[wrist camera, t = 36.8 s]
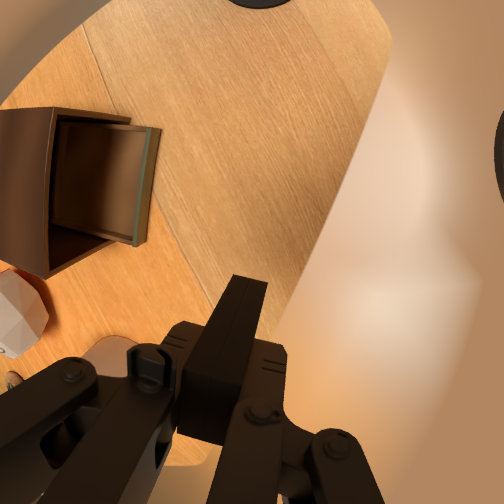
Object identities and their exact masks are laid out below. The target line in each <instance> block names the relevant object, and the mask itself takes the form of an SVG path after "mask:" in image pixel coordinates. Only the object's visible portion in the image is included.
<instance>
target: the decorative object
mask: <svg viewBox="0 0 504 504" xmlns="http://www.w3.org/2000/svg"><path fill="white" fill-rule="evenodd" d="M48 319H49V315H48V313H47V311H46V308H45V306H44V304H43V302H42V300H41V297H40V295H39V293H38V292H37V291H36V290H35V288H34V287H33V286H32V285H30V284H29V283H28V282H27V281H25V280H24V279H23V278H21V277H20V276H19V275H18V274H16V273H15V272H13V271H12V270H11V269H7V270H5V271H3V272H1V273H0V353H1V354H3V355H5V356H7V357H8V358H10V359H13V358H16V357H20V356H21V355H22V354H23V353H25V352H26V351H27V350H28V349H30V348H31V347H32V346H33V345H35V344H36V343H37V342H38V341H40V338H41V336H42V333H43V331H44V329H45V326H46V324H47V321H48Z"/></svg>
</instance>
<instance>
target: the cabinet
mask: <svg viewBox="0 0 504 504" xmlns="http://www.w3.org/2000/svg"><path fill="white" fill-rule="evenodd" d="M57 119H63V120H94V121H111V122H125V123H130V121H131V118H130V117H124V116H118V115H112V114H106V113H99V112H92V111H85V110H77V109H69V108H61V107H35V108H19V109H7V110H0V260H2V261H4V262H6V263H8V264H10V265H13V266H15V267H17V268H19V269H21V270H24V271H26V272H28V273H31V274H33V275H35V276H38V277H40V278H42V279H45V280H47V279H48V278H50V277H52V276H53V275H55V274H57V273H59V272H60V271H62V270H64V269H66V268H67V267H69V266H71V265H73V264H75V263H76V262H78V261H80V260H82V259H84V258H85V257H87V256H89V255H91V254H93V253H95V252H97V251H98V250H100V249H102V248H104V247H106V246H108V245H110V244H112V243H114V242H116V241H113V240H110V239H106V238H102V237H99V236H95V235H91V234H88V233H84V232H80V231H77V230H73V229H69V228H66V227H62V226H59V225H55V224H52V220H51V219H48V201H49V182H50V169H51V158H52V149H53V141H54V133H55V126H56V120H57Z"/></svg>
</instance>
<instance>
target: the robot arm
mask: <svg viewBox="0 0 504 504" xmlns="http://www.w3.org/2000/svg"><path fill="white" fill-rule="evenodd" d="M267 284H268V283H267V282H263V281H259V280H255V279H251V278H247V277H242V276H238V275H234V274H233V276H232V278H231V280H230V282H229V283H228V285H227V287H226V289H225V291H224V293H223V294H222V296H221V298H220V300H219V302H218V304H217V305H216V307H215V309H214V311H213V313H212V315H211V316H210V318H209V320H208V322H207V324H206V326H201V325H198V324H194V323H190V322H187V321H182V322H180V323H178V324H176V325H174V326H173V327H172V328H171V330H170V331H169V333H168V334H167V336H166V337H165V338H164V340H163V341H162V343H161V344H160V345H157V344H152V343H144V344H138V345H135V346H132V347H131V348H130V349H128V350H127V376H126V377H111V376H105V375H98V374H97V372H96V369H95V367H94V365H93V364H92V363H91V362H89V361H87V360H85V359H83V358H79V357H66V358H63V359H61V360H58V361H57V362H55V363H53V364H52V365H50V366H48V367H47V368H45V369H43V370H42V371H40V372H38V373H37V374H35V375H33V376H31V377H30V378H28V379H26V380H25V381H23V382H21V383H20V384H18V385H16V386H15V387H13V388H11V389H10V390H8V391H6V392H5V393H3V394H1V395H0V504H30V503H32V502H33V501H34V500H36V499H37V498H38V497H39V496H41V495H42V494H43V495H42V496H41V498H40V499H39V501H38V502H37V504H146V503H147V501H148V499H149V496H150V494H151V492H152V490H153V487H154V485H155V483H156V481H157V478H158V476H159V474H160V471H161V469H162V467H163V465H164V462H165V460H166V458H167V456H168V453H169V451H170V449H171V446H172V436H173V434H174V431H175V429H176V427H177V433H178V434H182V435H185V436H188V437H191V438H195V439H198V440H201V441H205V442H209V443H212V444H216V445H220V446H223V447H222V451H221V455H220V458H219V461H218V465H217V468H216V471H215V475H214V478H213V481H212V485H211V488H210V492H209V495H208V498H207V502H206V504H277V497H278V493H279V494H281V495H282V501H283V504H385V502H384V500H383V498H382V495H381V493H380V490H379V488H378V486H377V483H376V481H375V478H374V476H373V474H372V471H371V469H370V466H369V464H368V462H367V459H366V457H365V455H364V452H363V450H362V448H361V445H360V444H359V442H358V441H357V439H356V438H355V437H354V436H352V435H351V434H350V433H348V432H346V431H343V430H341V429H333V428H329V429H325V430H321V431H319V432H318V433H316V434H313V433H311V432H308V431H306V430H303V429H301V428H300V427H298V426H296V425H294V424H293V423H292V422H291V421H290V420H289V419H288V418H287V416H286V415H285V412H284V410H283V401H284V390H285V378H286V365H287V353H286V351H285V349H284V347H283V345H281V344H276V343H272V342H268V341H264V340H259V339H255V338H254V337H255V333H256V329H257V325H258V321H259V317H260V313H261V309H262V305H263V301H264V297H265V292H266V288H267Z"/></svg>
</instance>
